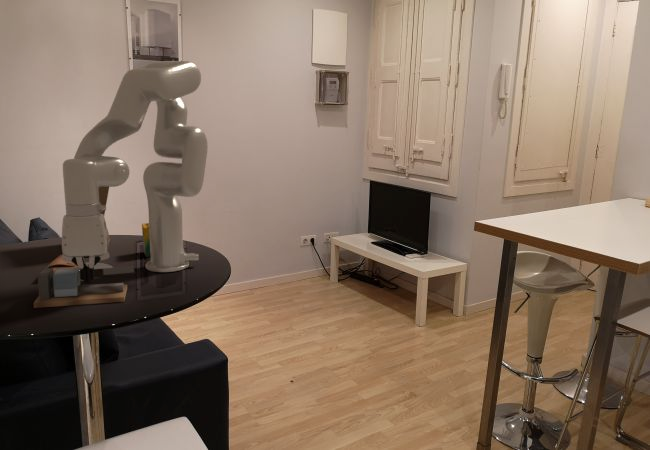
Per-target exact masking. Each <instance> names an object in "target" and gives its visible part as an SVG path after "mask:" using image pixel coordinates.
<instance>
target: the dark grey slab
mask: <svg viewBox="0 0 650 450" xmlns="http://www.w3.org/2000/svg"><path fill="white" fill-rule="evenodd" d="M53 275H54V271H53V268H46V267H43V269H42V271H41V272H39V274H38V275H37V284H38V296H39V297H40V301H41V300H49V299H50V298H51V288H52V287H54V283H53Z"/></svg>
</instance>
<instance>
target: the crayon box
mask: <svg viewBox="0 0 650 450" xmlns="http://www.w3.org/2000/svg"><path fill="white" fill-rule="evenodd" d="M141 230H142V231H141V232H142V246H143V247H142V248H143V253H144V255H145V257H146V258H151V255H150V233H149V222H148V223H141Z"/></svg>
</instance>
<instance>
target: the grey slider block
mask: <svg viewBox="0 0 650 450" xmlns="http://www.w3.org/2000/svg"><path fill="white" fill-rule="evenodd" d="M79 271H80V270H79V268H74V269H57V270H56V272H55V273H54V275H53V283H54V294H55V297H66V296H77V295H78V285H81V279H80V273H79Z"/></svg>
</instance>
